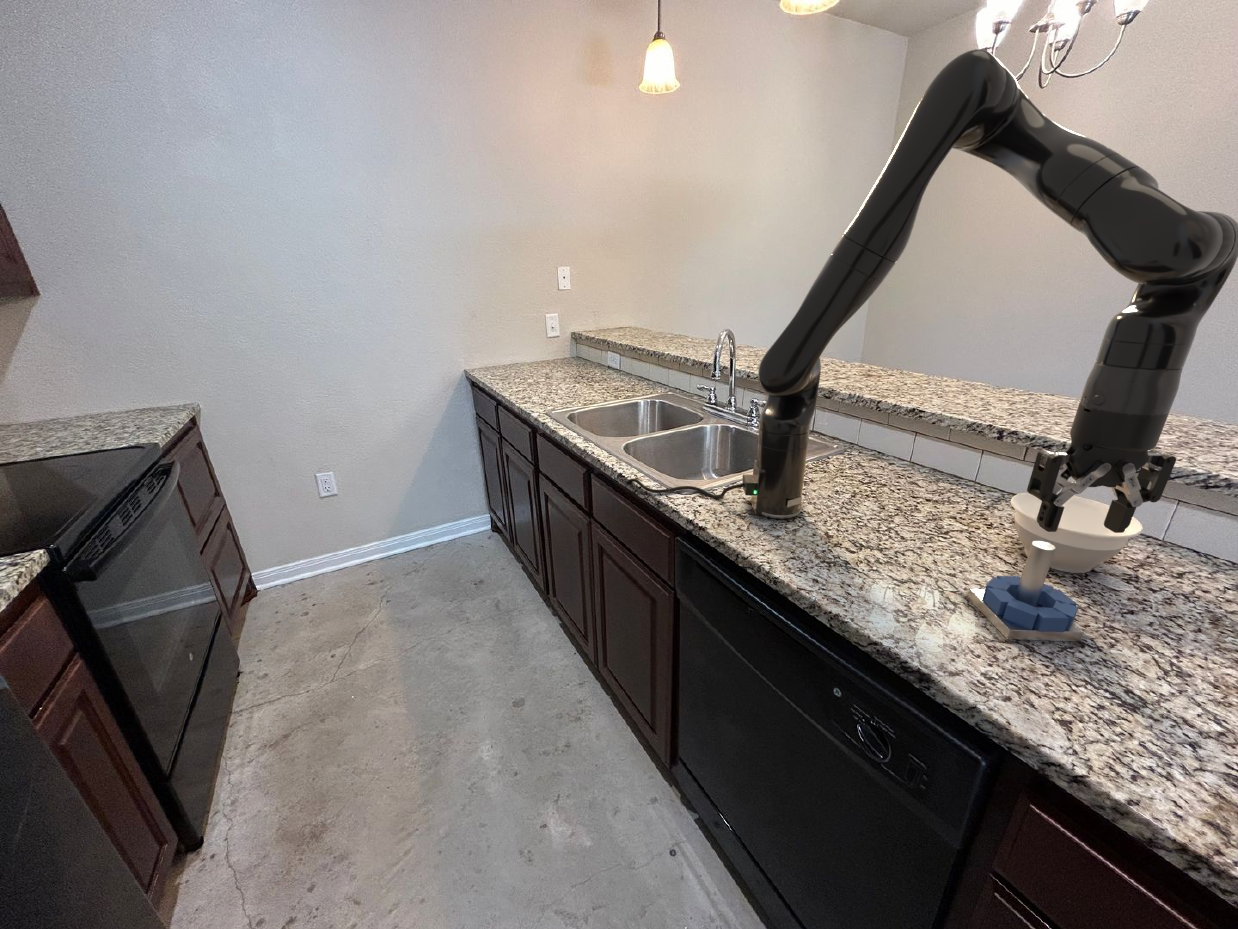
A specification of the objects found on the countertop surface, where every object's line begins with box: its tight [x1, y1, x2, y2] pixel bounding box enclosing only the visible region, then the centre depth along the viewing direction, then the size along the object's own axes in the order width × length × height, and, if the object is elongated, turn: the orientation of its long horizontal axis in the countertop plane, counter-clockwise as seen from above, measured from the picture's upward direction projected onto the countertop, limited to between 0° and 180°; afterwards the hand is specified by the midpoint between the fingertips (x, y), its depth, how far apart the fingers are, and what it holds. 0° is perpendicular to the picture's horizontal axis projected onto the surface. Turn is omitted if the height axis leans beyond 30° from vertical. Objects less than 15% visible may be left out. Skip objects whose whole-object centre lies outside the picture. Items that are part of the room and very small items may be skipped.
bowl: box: [1010, 491, 1144, 574], centre depth 81 cm, size 16×16×9 cm
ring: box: [983, 575, 1079, 632], centre depth 68 cm, size 9×9×2 cm
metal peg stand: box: [967, 541, 1085, 642], centre depth 67 cm, size 9×9×12 cm
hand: (1079, 529), depth 63 cm, fingers open, 7 cm apart
